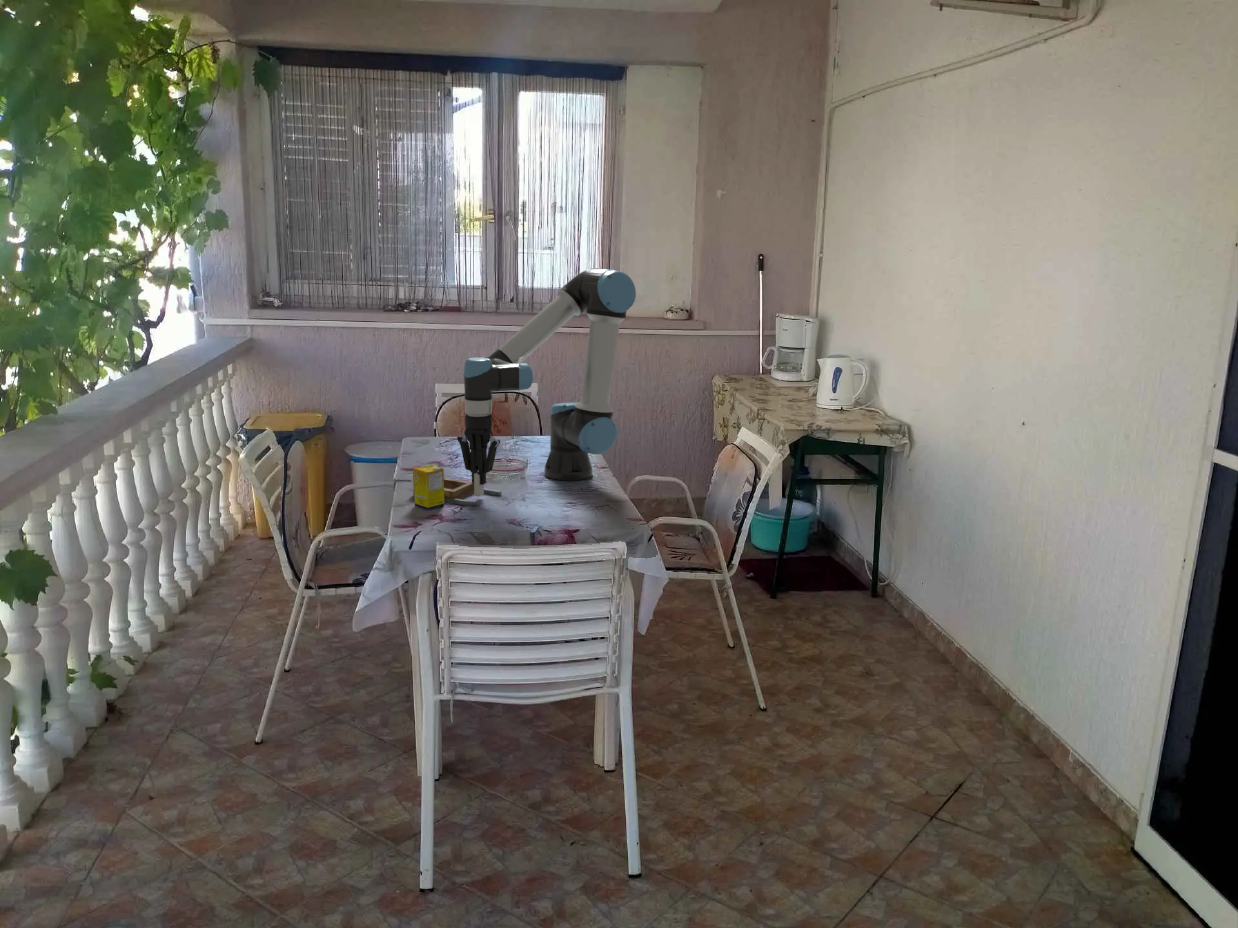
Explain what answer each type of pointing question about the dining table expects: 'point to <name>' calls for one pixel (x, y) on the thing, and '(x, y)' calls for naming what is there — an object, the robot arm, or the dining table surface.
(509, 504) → the dining table surface
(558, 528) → the dining table surface
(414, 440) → the dining table surface
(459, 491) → the tray
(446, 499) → the track
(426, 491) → the supplement box
